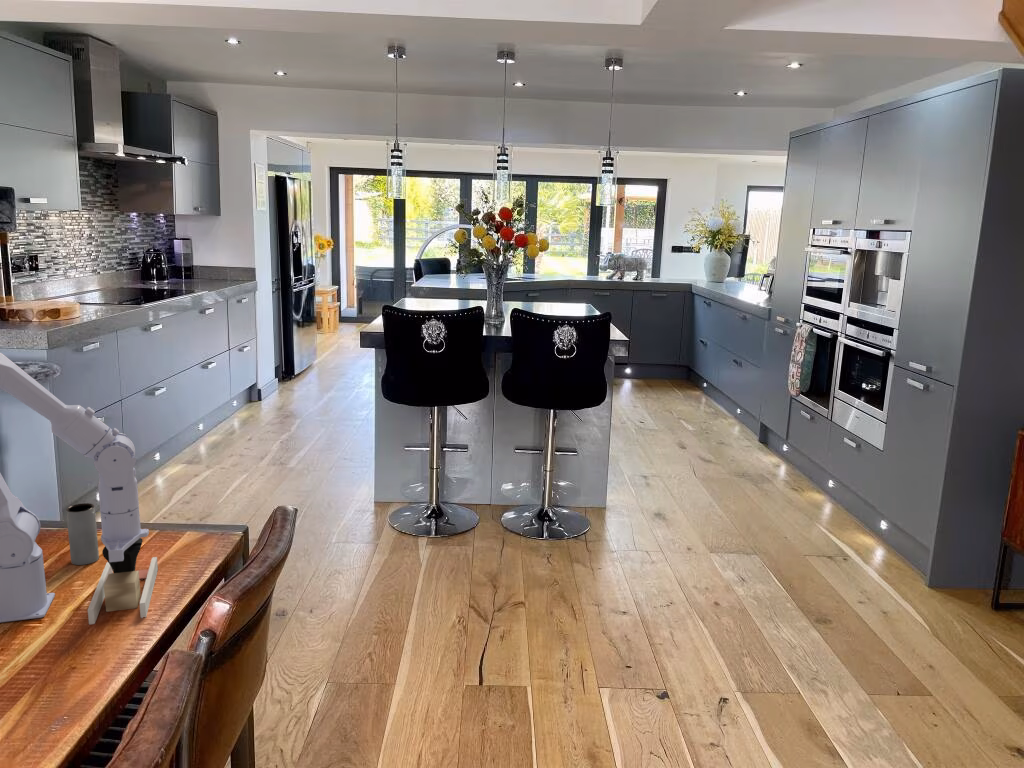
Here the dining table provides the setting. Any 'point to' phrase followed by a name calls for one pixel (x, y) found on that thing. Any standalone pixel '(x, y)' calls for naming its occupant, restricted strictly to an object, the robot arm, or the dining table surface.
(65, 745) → the dining table surface
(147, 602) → the channel
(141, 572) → the pad
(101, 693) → the dining table surface
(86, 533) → the grey hollow tube
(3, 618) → the robot arm
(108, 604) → the block
